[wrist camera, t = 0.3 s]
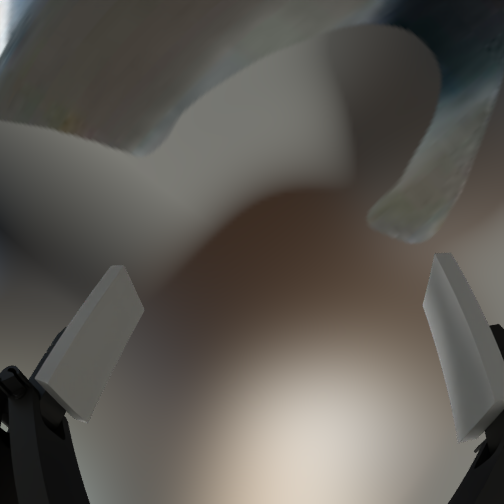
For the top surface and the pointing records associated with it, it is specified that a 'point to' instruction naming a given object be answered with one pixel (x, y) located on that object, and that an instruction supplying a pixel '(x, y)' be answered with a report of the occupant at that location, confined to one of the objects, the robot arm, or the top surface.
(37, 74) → the top surface
